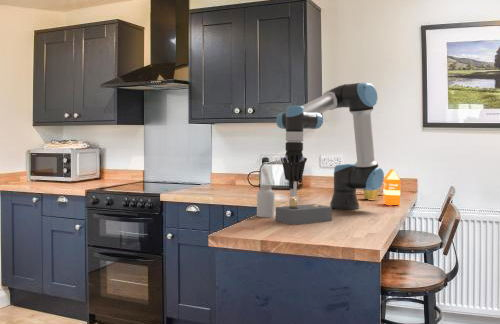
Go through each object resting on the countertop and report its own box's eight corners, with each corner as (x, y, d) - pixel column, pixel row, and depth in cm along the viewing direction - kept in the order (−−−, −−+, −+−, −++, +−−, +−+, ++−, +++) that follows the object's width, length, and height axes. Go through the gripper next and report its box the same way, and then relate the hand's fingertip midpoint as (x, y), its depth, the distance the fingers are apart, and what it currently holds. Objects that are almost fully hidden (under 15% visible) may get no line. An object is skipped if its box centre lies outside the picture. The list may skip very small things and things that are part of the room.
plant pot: (358, 199, 296) (358, 183, 295) (373, 198, 299) (373, 182, 298) (367, 201, 286) (367, 184, 286) (382, 200, 289) (383, 184, 289)
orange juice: (396, 204, 276) (397, 168, 275) (400, 206, 267) (401, 169, 266) (382, 203, 276) (383, 168, 275) (385, 205, 268) (386, 169, 267)
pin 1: (293, 210, 213) (293, 198, 212) (298, 211, 210) (298, 199, 210) (287, 211, 211) (288, 198, 211) (292, 212, 208) (292, 199, 208)
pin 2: (314, 216, 219) (314, 204, 219) (319, 217, 217) (319, 205, 216) (309, 217, 218) (309, 205, 217) (313, 218, 215) (313, 206, 215)
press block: (313, 216, 225) (314, 204, 225) (331, 220, 215) (331, 207, 215) (275, 220, 213) (275, 207, 213) (292, 224, 203) (292, 210, 203)
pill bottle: (259, 218, 220) (260, 185, 219) (254, 215, 227) (255, 183, 227) (276, 217, 222) (276, 184, 221) (270, 214, 230) (271, 183, 229)
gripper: (300, 141, 216) (299, 194, 217) (276, 141, 209) (276, 196, 210) (311, 142, 209) (310, 196, 211) (287, 141, 202) (286, 198, 203)
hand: (293, 196), depth 210 cm, fingers closed
